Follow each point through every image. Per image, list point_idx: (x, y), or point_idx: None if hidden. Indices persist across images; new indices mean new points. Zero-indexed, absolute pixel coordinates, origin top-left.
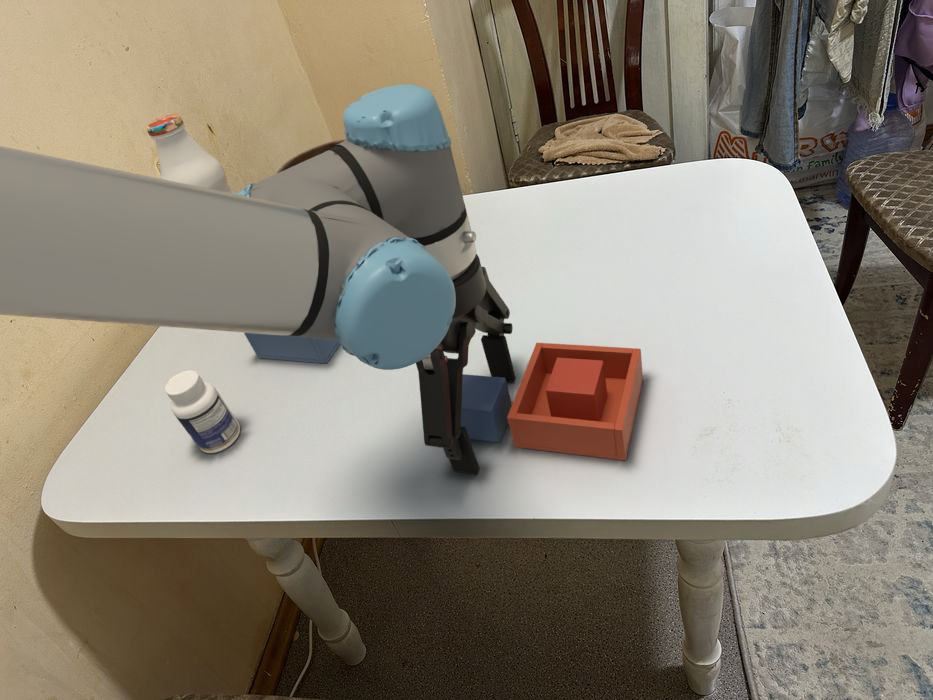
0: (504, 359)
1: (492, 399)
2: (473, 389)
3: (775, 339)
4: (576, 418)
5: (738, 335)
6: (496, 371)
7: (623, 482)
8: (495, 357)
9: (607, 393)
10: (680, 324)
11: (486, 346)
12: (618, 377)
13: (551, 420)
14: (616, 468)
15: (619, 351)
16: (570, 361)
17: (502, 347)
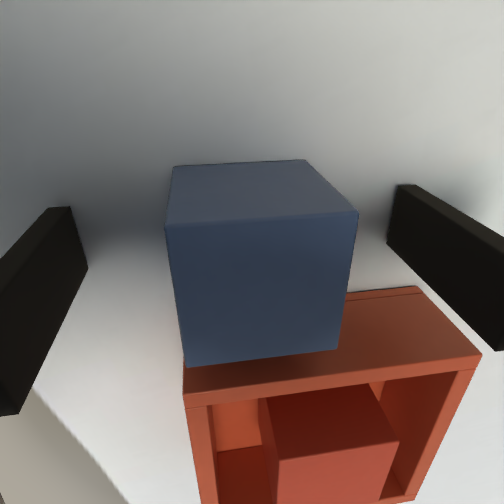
0: (438, 281)
1: (237, 353)
2: (274, 285)
3: (432, 499)
4: (261, 416)
5: (448, 476)
6: (415, 220)
7: (163, 459)
8: (450, 258)
9: None
10: (490, 428)
11: (495, 267)
12: None
13: (201, 465)
14: (186, 446)
15: (412, 483)
16: (381, 464)
17: (473, 318)
